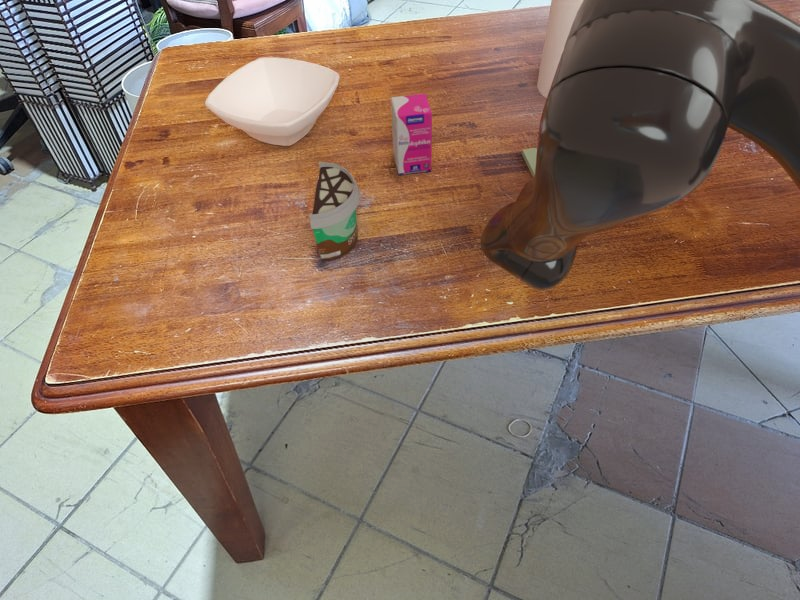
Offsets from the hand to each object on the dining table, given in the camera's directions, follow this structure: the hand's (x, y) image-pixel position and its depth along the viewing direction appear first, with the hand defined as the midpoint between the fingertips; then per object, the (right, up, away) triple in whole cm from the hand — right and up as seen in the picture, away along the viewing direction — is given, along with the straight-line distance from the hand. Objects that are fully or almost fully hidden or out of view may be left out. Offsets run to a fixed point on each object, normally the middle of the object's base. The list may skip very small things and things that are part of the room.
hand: (621, 105), depth 77 cm
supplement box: (-30, -5, +14) cm, 34 cm away
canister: (+2, +14, +27) cm, 31 cm away
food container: (-41, -19, +3) cm, 45 cm away
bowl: (-54, +3, +22) cm, 59 cm away
